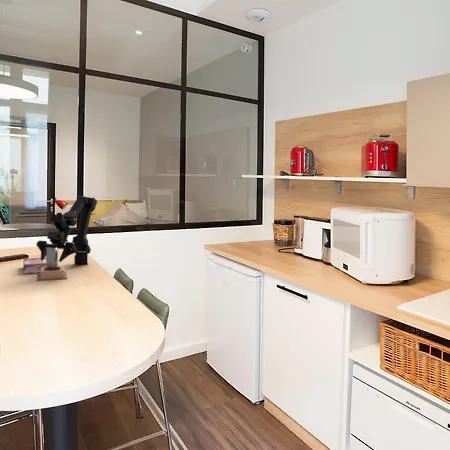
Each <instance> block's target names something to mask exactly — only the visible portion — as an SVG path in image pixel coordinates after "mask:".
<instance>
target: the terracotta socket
mask: <svg viewBox="0 0 450 450" xmlns="http://www.w3.org/2000/svg"><path fill="white" fill-rule="evenodd" d="M57 279H59V280H68V275H67V271H64V266H63V265H61V266H60V265H58V270H50V271H47V267H41V273H37V278H36V281H55V280H57Z"/></svg>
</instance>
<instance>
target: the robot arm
mask: <svg viewBox="0 0 450 450" xmlns="http://www.w3.org/2000/svg"><path fill="white" fill-rule="evenodd" d="M97 204H98V201H97V199H96V198H95V197H91V196H90V197H89V196H85V195H83V196H82V195H79V196H77V197H76V200H75V201H74V203H73V205H72V206H71V207H70V209H69V210H68V211H67V212H64V213H63V214H62V212H57V213H56V214H54V215H52V216H51V217H50V222H51V224H52V225H53V227H54V228H55V230H57V231H48V232H47V236H46V239H48V240H49V242H50V243H48V242H47V240H38V241H36V244H35V246H37V248H38V250H39V251H40V258H41V261H43V260H44V258H46V248H47V247H58V249H59V250H60V249H61V250H63V251H62V252H61V255H60V257H59V258H58V263H62V261H64V260H65V259H66V258H68V257H69V256H71V255H73V254H74V255H73V258H74V260H73V261H74V264H75V266H81V265H88V264H89V262H88V255H89V254H91V250H92V249H91V247H90V245H89V239H88V237H87V235H88V231H89V226H90V221H91V216H92V212H94V211H95V210H96V207H97ZM81 211H82V212H81ZM80 212H81V215H80ZM79 215H80V221H79V226H78V230H77V234H76V235H75V236H74V235H73V238H72V241H71V242H70V241H69V240H68V238H69V235H70V234H73V232H72V229H71V227H75V226H76V225H77V223H78V216H79Z"/></svg>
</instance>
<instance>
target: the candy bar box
mask: <svg viewBox="0 0 450 450" xmlns="http://www.w3.org/2000/svg"><path fill="white" fill-rule="evenodd" d="M22 267H23V271H22V272H23V273H22V274H39V273H41V267H47V259H46V257H45V258H44V260H43V261H41V257H28V258H27V257H26V258H23V265H22Z"/></svg>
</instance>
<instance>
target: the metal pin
mask: <svg viewBox="0 0 450 450" xmlns="http://www.w3.org/2000/svg"><path fill="white" fill-rule="evenodd" d="M58 252H59V251H58V247H47V248H46V257H45V258H46V259H47V271H50V270H58V266H59V265H58V264H59V258H58V256H59V255H58V254H59V253H58Z"/></svg>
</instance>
